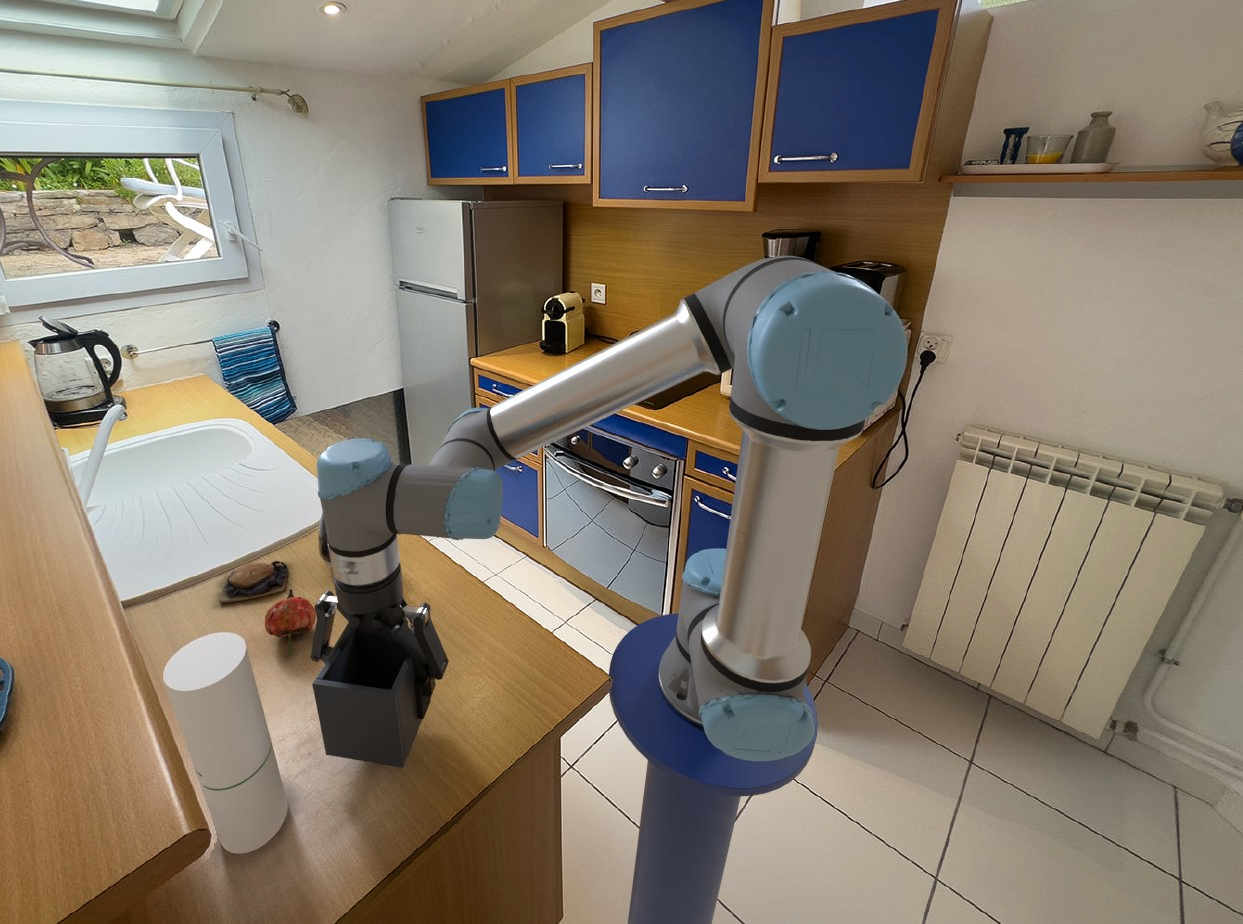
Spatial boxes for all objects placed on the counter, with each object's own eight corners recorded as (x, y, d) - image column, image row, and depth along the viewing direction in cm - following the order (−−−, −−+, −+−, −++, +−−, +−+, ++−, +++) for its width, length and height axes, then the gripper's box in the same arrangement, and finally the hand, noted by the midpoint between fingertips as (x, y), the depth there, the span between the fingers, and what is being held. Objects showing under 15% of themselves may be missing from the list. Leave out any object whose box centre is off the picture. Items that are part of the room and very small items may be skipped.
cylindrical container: (266, 776, 69) (224, 622, 59) (300, 811, 65) (260, 653, 56) (207, 827, 64) (149, 666, 54) (239, 869, 60) (184, 704, 50)
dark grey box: (311, 684, 64) (352, 620, 73) (325, 755, 68) (362, 686, 77) (394, 696, 62) (425, 630, 71) (403, 768, 67) (431, 697, 76)
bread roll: (218, 607, 95) (213, 591, 94) (226, 576, 103) (222, 560, 101) (285, 593, 99) (281, 577, 97) (288, 564, 106) (285, 548, 105)
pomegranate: (320, 654, 89) (326, 590, 94) (300, 650, 83) (308, 582, 88) (274, 659, 89) (283, 595, 94) (250, 655, 83) (261, 586, 88)
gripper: (257, 577, 62) (289, 716, 71) (450, 602, 59) (459, 744, 68) (295, 537, 69) (320, 668, 78) (470, 558, 66) (476, 691, 75)
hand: (385, 703), depth 73 cm, fingers closed on dark grey box, 10 cm apart
